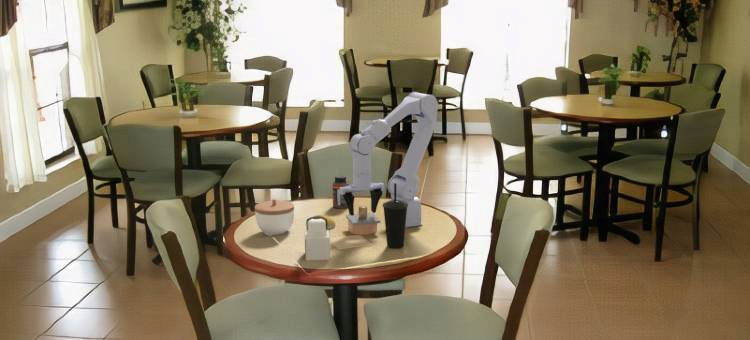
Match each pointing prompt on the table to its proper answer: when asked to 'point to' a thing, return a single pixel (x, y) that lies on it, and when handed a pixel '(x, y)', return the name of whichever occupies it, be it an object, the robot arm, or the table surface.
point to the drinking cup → (395, 221)
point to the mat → (349, 242)
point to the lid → (363, 217)
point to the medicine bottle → (317, 239)
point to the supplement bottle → (337, 197)
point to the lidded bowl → (274, 216)
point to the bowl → (362, 228)
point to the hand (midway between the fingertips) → (362, 213)
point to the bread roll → (329, 222)
